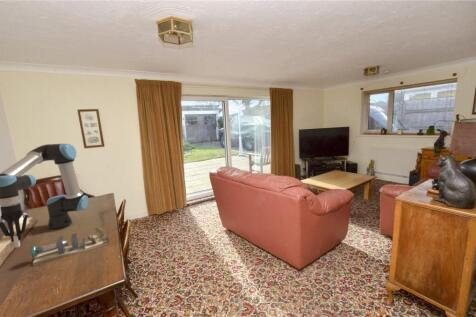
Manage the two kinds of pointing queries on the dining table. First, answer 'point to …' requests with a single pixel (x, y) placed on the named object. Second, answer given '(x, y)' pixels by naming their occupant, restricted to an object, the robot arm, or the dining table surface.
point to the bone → (94, 237)
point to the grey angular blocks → (74, 243)
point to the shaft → (45, 248)
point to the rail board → (68, 251)
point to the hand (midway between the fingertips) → (17, 246)
